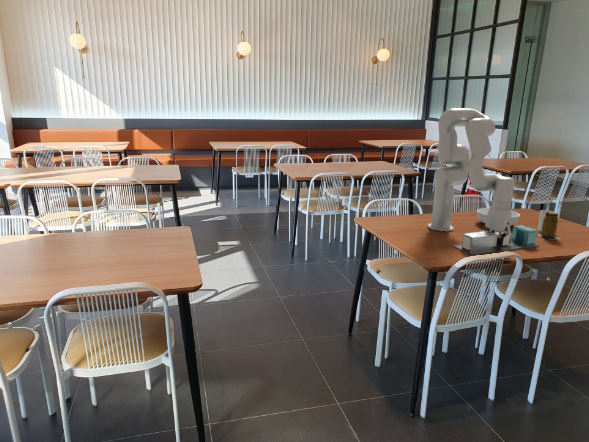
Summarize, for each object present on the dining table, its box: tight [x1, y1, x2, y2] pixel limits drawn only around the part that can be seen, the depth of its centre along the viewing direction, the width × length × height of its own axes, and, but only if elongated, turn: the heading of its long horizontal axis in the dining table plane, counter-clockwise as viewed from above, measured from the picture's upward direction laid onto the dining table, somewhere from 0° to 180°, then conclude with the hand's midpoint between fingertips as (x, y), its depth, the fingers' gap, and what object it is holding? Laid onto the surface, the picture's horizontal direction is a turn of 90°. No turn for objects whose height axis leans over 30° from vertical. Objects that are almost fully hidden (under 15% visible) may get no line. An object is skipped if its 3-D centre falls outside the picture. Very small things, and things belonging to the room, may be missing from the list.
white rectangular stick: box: [462, 231, 512, 250], centre depth 194 cm, size 24×4×5 cm, turn 111°
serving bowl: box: [476, 207, 521, 227], centre depth 232 cm, size 21×21×7 cm
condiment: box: [537, 211, 562, 241], centre depth 212 cm, size 7×8×12 cm
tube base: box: [452, 224, 540, 256], centre depth 197 cm, size 39×12×7 cm, turn 111°
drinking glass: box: [537, 209, 556, 232], centre depth 223 cm, size 7×7×10 cm
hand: (495, 243), depth 197 cm, fingers closed on white rectangular stick, 4 cm apart
